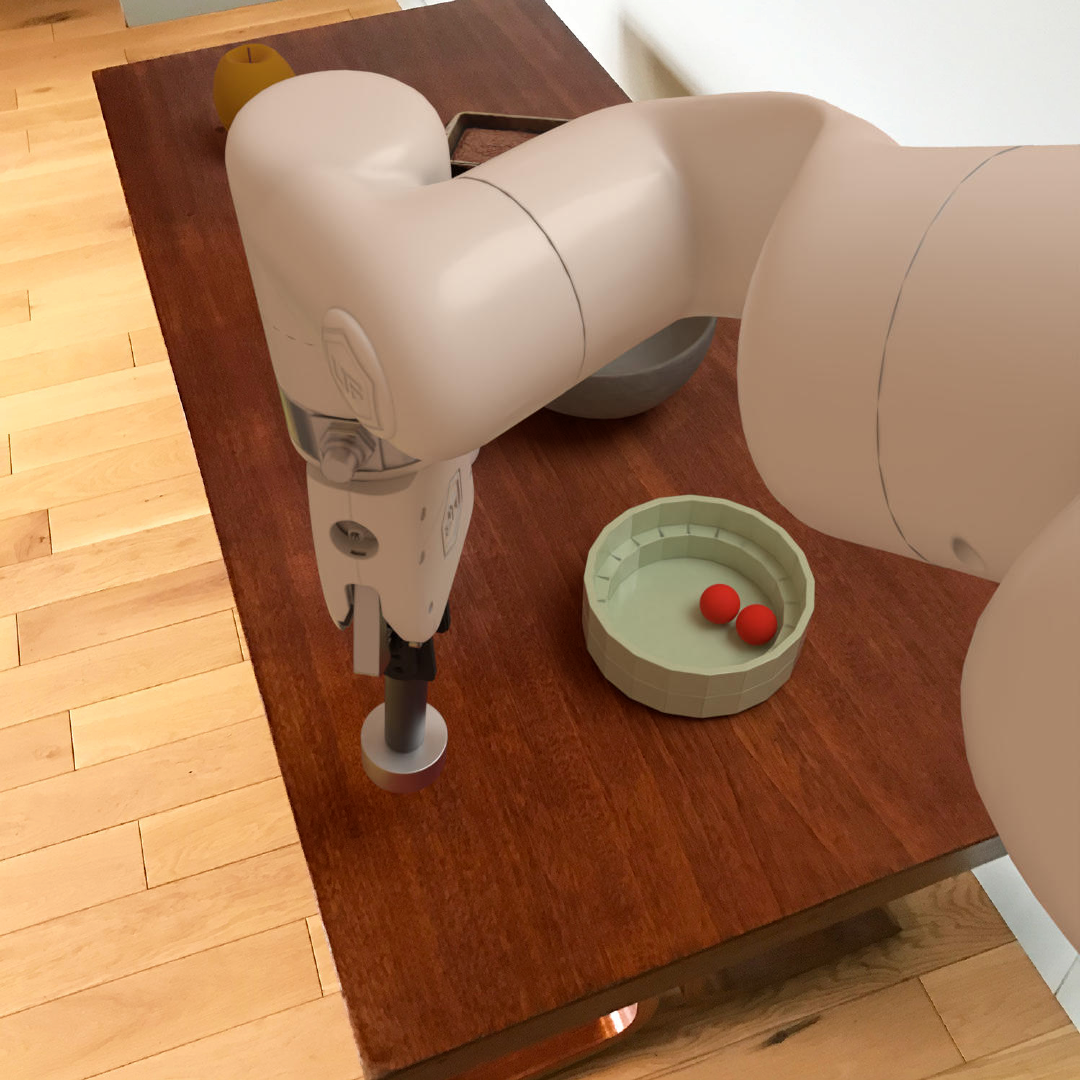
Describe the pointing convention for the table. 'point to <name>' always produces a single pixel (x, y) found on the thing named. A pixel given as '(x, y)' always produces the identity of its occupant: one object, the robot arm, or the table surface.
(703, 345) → the bowl
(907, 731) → the table surface
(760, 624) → the tomato
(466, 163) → the baking dish
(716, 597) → the tomato
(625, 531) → the mixing bowl
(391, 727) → the dark post
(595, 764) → the table surface
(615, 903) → the table surface
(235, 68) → the apple
